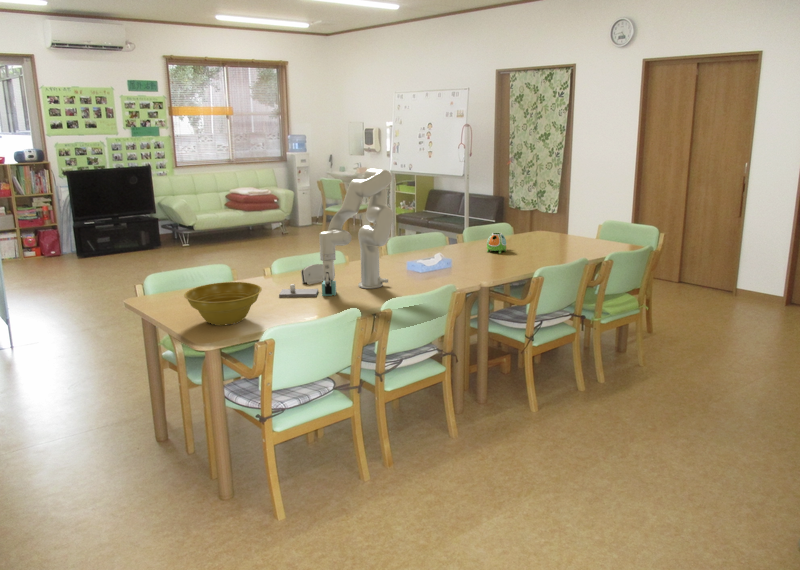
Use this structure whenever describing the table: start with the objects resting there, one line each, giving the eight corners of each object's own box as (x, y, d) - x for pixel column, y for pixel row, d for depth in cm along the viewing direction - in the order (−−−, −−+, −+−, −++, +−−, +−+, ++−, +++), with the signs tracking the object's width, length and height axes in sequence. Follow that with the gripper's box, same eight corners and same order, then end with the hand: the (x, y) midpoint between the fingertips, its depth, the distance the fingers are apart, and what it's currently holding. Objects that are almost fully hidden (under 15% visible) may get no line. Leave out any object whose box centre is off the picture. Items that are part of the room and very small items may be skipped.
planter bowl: (202, 338, 262) (199, 305, 258) (176, 318, 287) (173, 289, 284) (276, 323, 280) (274, 292, 276) (245, 306, 305) (243, 278, 302)
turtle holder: (510, 249, 428) (511, 231, 425) (502, 254, 412) (503, 235, 409) (492, 247, 433) (493, 230, 430) (483, 252, 418) (484, 234, 415)
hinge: (307, 284, 343) (302, 266, 343) (302, 286, 346) (298, 267, 346) (332, 279, 354) (328, 261, 354) (328, 280, 357) (323, 263, 357)
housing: (336, 292, 327) (335, 280, 326) (335, 295, 321) (334, 283, 320) (323, 292, 327) (323, 280, 326) (322, 295, 321) (321, 284, 320)
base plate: (318, 291, 329) (317, 281, 328) (316, 296, 319) (315, 287, 318) (282, 292, 329) (281, 282, 328) (279, 297, 319) (278, 287, 318)
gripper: (334, 260, 311) (335, 296, 316) (336, 253, 328) (338, 287, 333) (318, 260, 311) (319, 296, 316) (321, 253, 328) (323, 287, 332)
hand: (329, 291), depth 324 cm, fingers closed on housing, 6 cm apart
